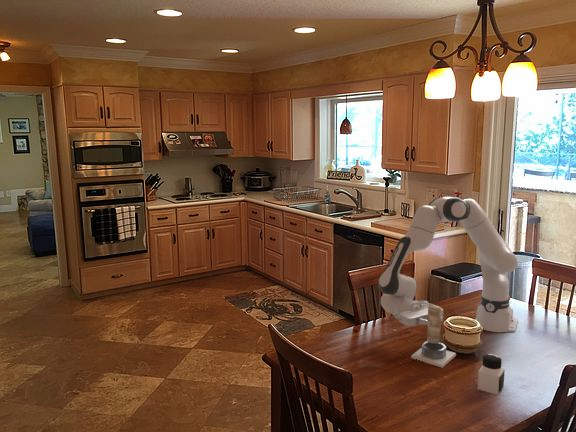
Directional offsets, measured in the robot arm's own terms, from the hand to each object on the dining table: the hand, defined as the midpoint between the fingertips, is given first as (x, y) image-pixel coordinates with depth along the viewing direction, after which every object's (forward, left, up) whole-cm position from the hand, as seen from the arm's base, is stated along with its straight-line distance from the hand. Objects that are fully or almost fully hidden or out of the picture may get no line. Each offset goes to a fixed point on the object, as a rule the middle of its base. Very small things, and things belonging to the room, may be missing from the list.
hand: (436, 321), depth 191 cm
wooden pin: (0, -1, -8) cm, 8 cm away
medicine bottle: (+10, +25, -16) cm, 31 cm away
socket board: (0, -1, -15) cm, 15 cm away
